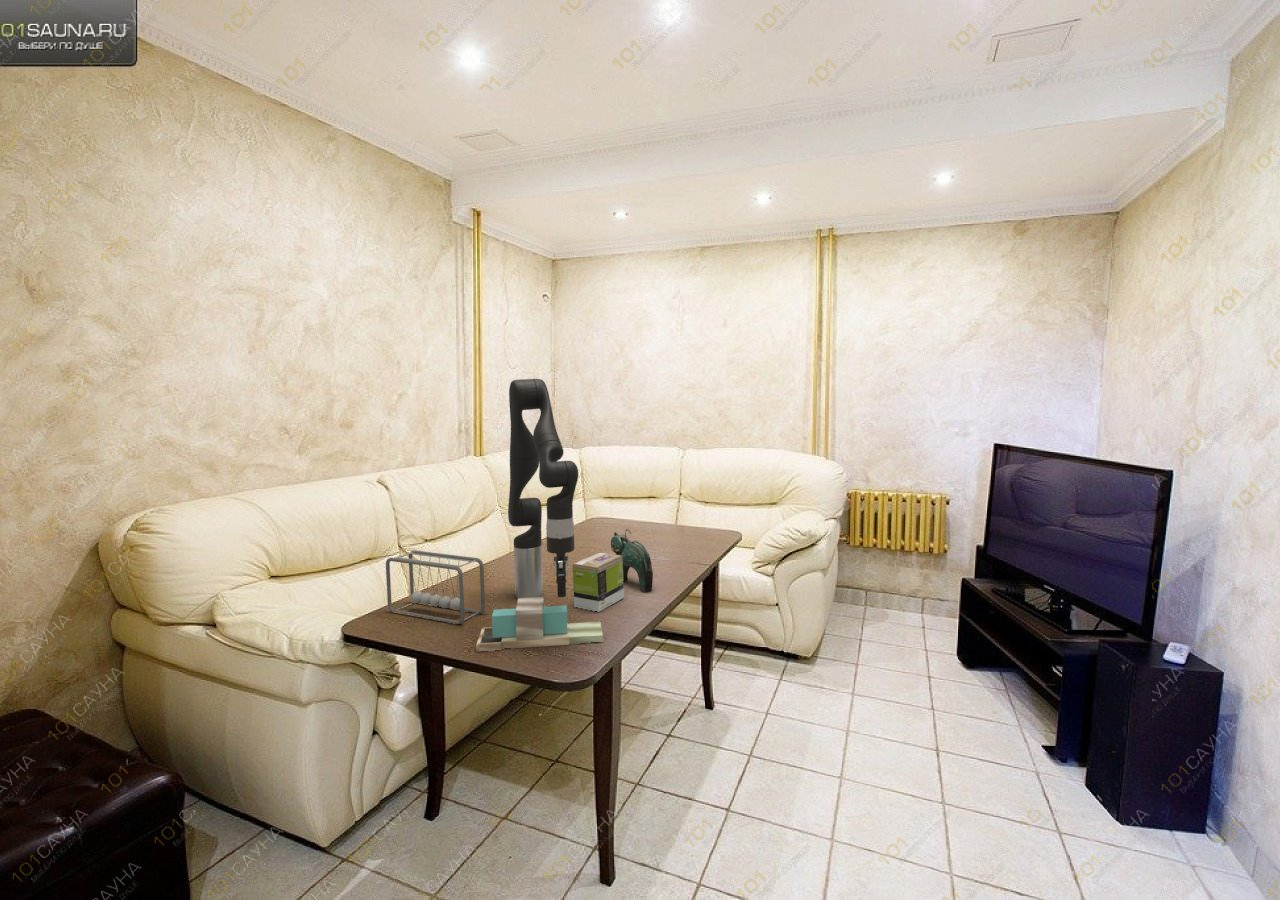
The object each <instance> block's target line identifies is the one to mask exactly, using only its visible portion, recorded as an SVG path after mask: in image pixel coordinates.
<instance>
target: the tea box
mask: <svg viewBox="0 0 1280 900" xmlns="http://www.w3.org/2000/svg"><path fill="white" fill-rule="evenodd" d="M624 583H625V582H623V558H622V556H621V555H616V554H611V553H603V552H596V553H594V554H592V555H589V556H587V557H584V558H583V559H580V560H578V561H575V562H573V563H572V584H573V603H574V604H573V607H574V608H576V607H578V608H577V609H580V608H583V609H582V610H585V609H588V610H587V611H590V610H592V611H591V612H595V611H597V612H596V613H600V612H601V611H604V610H605V609H608V607H610V606H611V605H612V606H613V604H616V603H618V602H619V601H621V600H623V599H624V598H625V586H624Z"/></svg>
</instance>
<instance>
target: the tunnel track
mask: <svg viewBox="0 0 1280 900" xmlns="http://www.w3.org/2000/svg"><path fill="white" fill-rule="evenodd" d="M544 601H545V600H544V596H541V597H533V598H517V603H516V606H515V607H516V637H500V638H493V635H492V626H485V627H482V628H481V630H480V634H479V635H478V639H477V642H476V645H475V646H476V652H477V651H488V652H496V651H495V650H501V651H502V650H505V649H504V648H511V649H525V648H538V647H539V648H540V647H552V646H553V647H554V646H555V647H557V646H568V645H569V644H571V645H581V644H580V643H586V644H592V643H591V642H601V643H604V635H603V634H604V633H603V629H602V623H601V621H586V622H571V623H568V622H567V633H562V634H547V635H543V607H545V605H544ZM569 646H570V645H569Z"/></svg>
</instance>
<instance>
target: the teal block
mask: <svg viewBox="0 0 1280 900" xmlns="http://www.w3.org/2000/svg"><path fill="white" fill-rule="evenodd" d="M567 623H568V605H551V606H544V607H543V635H547V634H562V633H567ZM491 627H492V635H493V638H500V637H516V608H503V609H501V608H499V609H493V612H492V614H491Z"/></svg>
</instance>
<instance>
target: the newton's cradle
mask: <svg viewBox="0 0 1280 900" xmlns="http://www.w3.org/2000/svg"><path fill="white" fill-rule="evenodd" d="M414 555H415V556H414ZM405 556H408V558H406V557H405ZM413 556H414V557H413ZM422 556H423V557H424V558H422ZM417 557H420V558H419V559H415V558H417ZM428 558H434V559H430V560H427V561H426V560H424V559H428ZM438 559H439V560H438ZM441 559H445V560H446V561H447V560H448V561H449V560H453V562H449V563H443V562H444V560H442V561H441ZM435 560H438V562H434V561H435ZM460 561H461V562H466V563H464V564H460V563H458V564H453V563H455V562H460ZM391 562H393V563H394V562H395V563H402V564H408V570H409V571H408V572H409V575H408V576H409V592H410V601H411V603H409V604H407V605H404V606H402V607H400V608H403V607H405V608H407V607H409V606H408V605H410V606H412V605H413V604H412V603H414V604H416V603H422V604H423V606H428V604H431V605H432V606H431V607H433V606H434V607H435V608H438V607H437V606H440V607H442V608H441V609H445V608H451V609H453V610H452V611H457V610H460V611H459V614H460V615H459V616H460V620H453V619H448V618H443V617H439V616H438V617H436V616H432V615H427V614H422V613H421V614H420V613H416V612H411V611H405V610H401V609H400V608H398V609H400V610H398V609H394V607H393V603H392V586H391V584H392V583H391V567H390V566H391V565H390V564H391ZM474 562H476V563H478V565H479V582H480V583H479V585H480V610H478V609H474V608H473V609H471V608H465V599H464V598H465V597H464V574H463V571H462V568H461V567H464V566H466V565H469V564H471V563H474ZM413 565H415V566H416V565H418V566H419V570H418V575H421V579H422V585H423V591H424V593H422V592H421V591H419V588H417V589H416V584H415V579H414V568H413V567H414V566H413ZM421 566H424V567H428V574H427V579H429V577H430V580H431V585H432V590H433V591H435V589H434V588H435V586H434V583H433V578H432V573H431V568H438V569H437V574H439V577H440V581H441V584H443V582H442V576H441V571H440V569H446V570H447V571H448V574H447V578H446V582H448V580H449V579H448V578H450V583H451V587H452V591H453V596H454V597H453V598H451V597H450V596H448V595H447V594H445V593H447V590H448V589H447V588H448V585H446V587H445V588H446V590H445V591H444V586H443V585H441V587H442V592H443V593H442V594H443V596H441V595H439V594H437V592H438V588H436V592H433V595H432V594H431V593H430V592H428V591H426V590H429V589H428V588H429V582H427V585H426V588H425V584H424V579H423V575H422V568H421ZM484 566H485V565H484V562H483V561H482V560H481V559H480V558H477V557H472V556H463V555H455V554H447V553H440V552H434V551H433V552H431V551H422V550H414V549H413V550H411V551H409V552H408V553H406V554H402V555H399V556H396V557H388V558H387V559H386V561H385V576H386V578H385V579H386V596H387V608H388V610H389V612H391V611H393V612H400V613H405V614H410V615H414V616H420V617H425V618H429V619H435V620H440V621H445V622H450V623H455V624H461V625H462V624H464V622H465V621H466V620H468V619H471V618H472V617H474V616H476V615H482V614H483V613H485V610H486V601H485V600H486V597H485V596H486V595H485V576H484V574H485V571H484V569H485V567H484ZM430 567H431V568H430ZM450 570H454V571H457V574H458V578H457V579H456V580H457V583H456V588H459V589H458V591H459V597H458V593H456V596H455V591H454V587H453V581H452V577H451V573H450V572H451V571H450ZM439 577H437V580H436V585H439V584H438V583H439ZM419 582H420V578H418V580H417V585H419ZM458 586H459V587H458ZM411 604H412V605H411ZM422 604H421V605H422ZM406 606H407V607H406ZM403 609H404V608H403ZM451 609H450V610H451ZM464 611H468V612H474V613H475V614H474V613H472V614H471V615H470V616H467V617H466V618H465V612H464ZM468 612H467V613H468ZM478 613H479V614H478ZM455 624H454V625H455Z"/></svg>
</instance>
